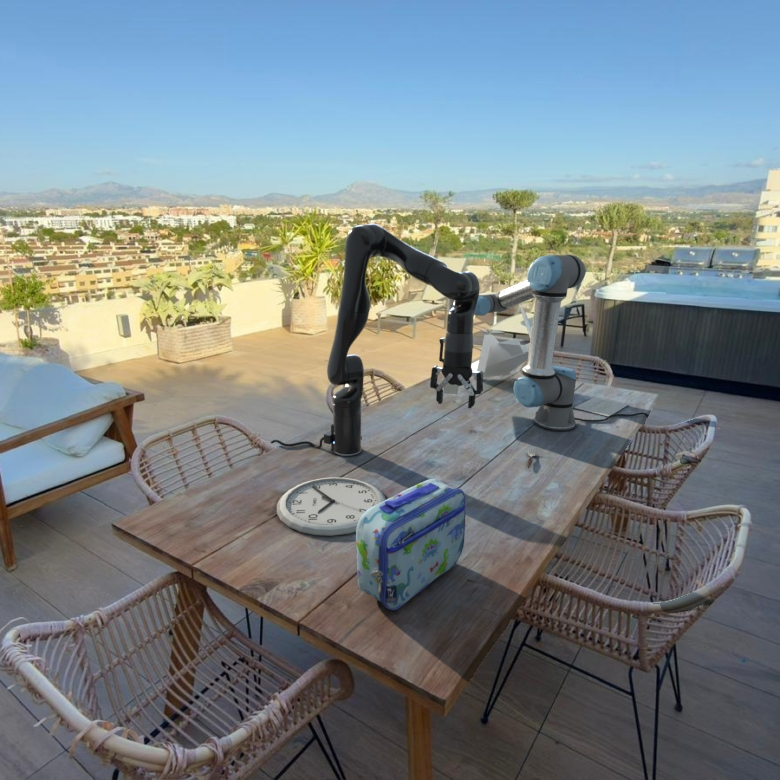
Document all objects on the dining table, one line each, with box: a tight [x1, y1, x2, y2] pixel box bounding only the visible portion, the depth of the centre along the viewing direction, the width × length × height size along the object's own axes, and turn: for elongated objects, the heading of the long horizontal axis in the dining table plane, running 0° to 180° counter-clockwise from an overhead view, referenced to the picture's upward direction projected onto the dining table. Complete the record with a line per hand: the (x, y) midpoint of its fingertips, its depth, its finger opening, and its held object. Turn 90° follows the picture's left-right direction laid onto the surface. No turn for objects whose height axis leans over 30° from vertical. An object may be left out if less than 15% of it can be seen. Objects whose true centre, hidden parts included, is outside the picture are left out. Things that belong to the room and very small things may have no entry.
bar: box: [443, 376, 459, 395], centre depth 219 cm, size 25×5×9 cm, turn 170°
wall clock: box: [276, 476, 387, 537], centre depth 142 cm, size 30×2×30 cm
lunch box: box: [355, 478, 466, 611], centre depth 110 cm, size 26×11×21 cm, turn 134°
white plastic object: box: [471, 307, 532, 379], centre depth 256 cm, size 37×45×31 cm
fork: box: [527, 445, 537, 469], centre depth 172 cm, size 3×16×2 cm, turn 160°
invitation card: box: [573, 396, 629, 417], centre depth 226 cm, size 21×1×15 cm
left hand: (455, 405), depth 145 cm, fingers open, 8 cm apart
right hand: (453, 377), depth 228 cm, fingers closed on bar, 5 cm apart
